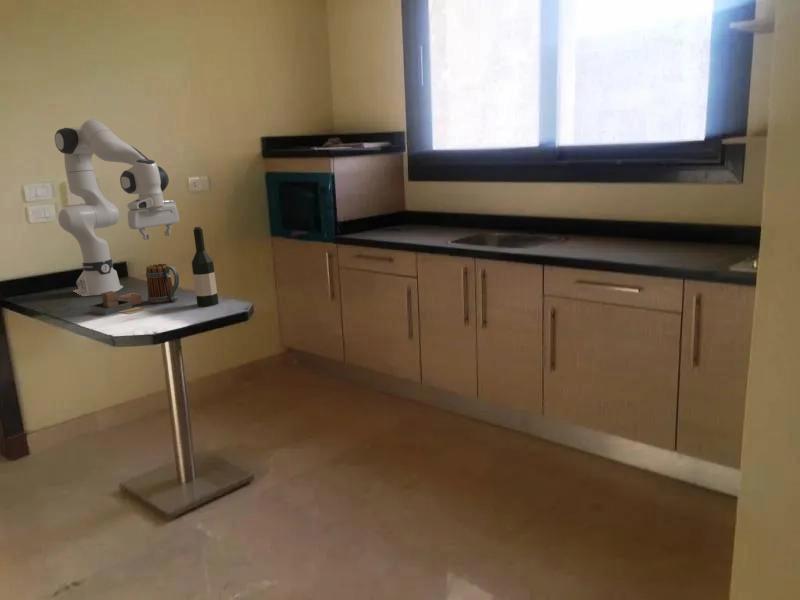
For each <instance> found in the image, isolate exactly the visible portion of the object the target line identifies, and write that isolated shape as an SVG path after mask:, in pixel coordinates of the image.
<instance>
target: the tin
mask: <svg viewBox="0 0 800 600" xmlns="http://www.w3.org/2000/svg"><path fill="white" fill-rule="evenodd" d="M131 308H133V305H132V302H128V301H122V300H120V299H118V305H117V306H113V307H109V308H104V307H103V302H100V303H97V304H92V305H89V309H90V310H89V311H90V313H93V314H97V315H102V316H108V315H112V314H116V313H120V312H119V311H123V310H127V309H131Z"/></svg>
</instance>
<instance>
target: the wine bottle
mask: <svg viewBox="0 0 800 600" xmlns="http://www.w3.org/2000/svg"><path fill="white" fill-rule="evenodd" d="M192 232H193V237H194V245H195V253H194V256H193V257H192V258H193V259H192V261H191V268H192V270H191V271H192V276H193V283H194V284H193V285H194V289H195V290H194V291H195V296H196V304H197V307H201V308H203V307H204V308H207V307H212V306H213V307H214V306H216V305H219V295H218V290H217V282H216V275H215V268H214V260H213V259H212V258H211V257H210V255H209V254H208V252H207V251H206V247H205V241H204V233H203V232H204V231H203V228H202V227H201V226H194V228H193V231H192Z"/></svg>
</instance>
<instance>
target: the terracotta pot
mask: <svg viewBox="0 0 800 600" xmlns="http://www.w3.org/2000/svg"><path fill="white" fill-rule="evenodd" d="M118 298H119V299H118V300H122V301H128V302H132V306H135V305H140V304H143V298H142V294H141V293H135V292H131V293H127V294H122V295H119V296H118Z"/></svg>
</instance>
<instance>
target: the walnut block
mask: <svg viewBox="0 0 800 600" xmlns="http://www.w3.org/2000/svg"><path fill="white" fill-rule="evenodd" d="M118 300H119V299H118V294H117V291H116V292H113V291H109V292H105V293H101V301H102V303H103V307H104V308H109V307H113V306H117V305H118Z"/></svg>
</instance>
